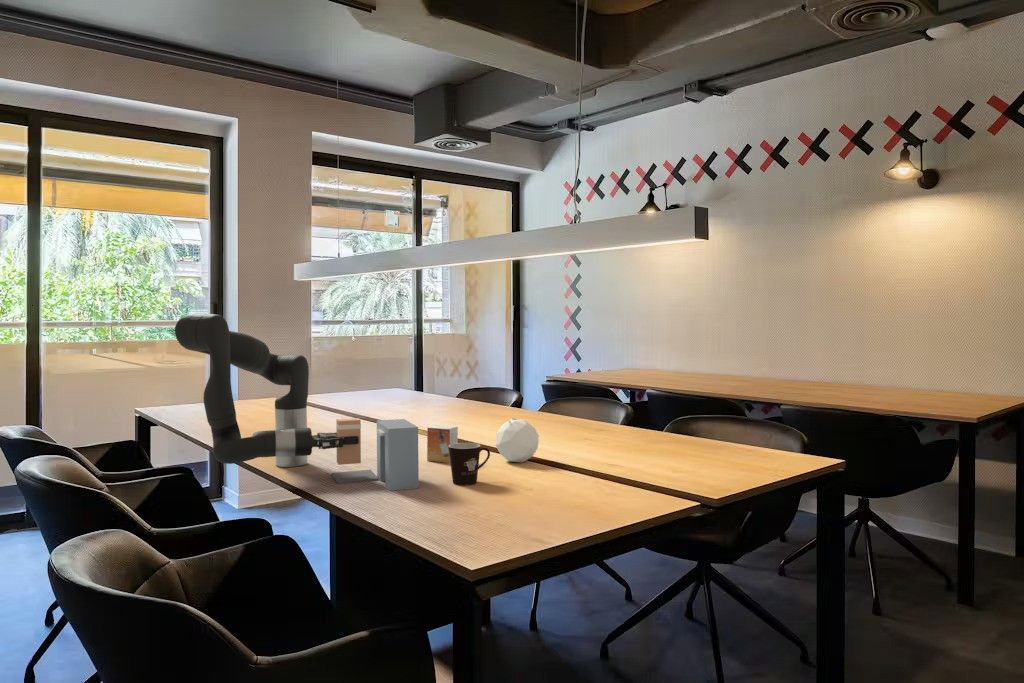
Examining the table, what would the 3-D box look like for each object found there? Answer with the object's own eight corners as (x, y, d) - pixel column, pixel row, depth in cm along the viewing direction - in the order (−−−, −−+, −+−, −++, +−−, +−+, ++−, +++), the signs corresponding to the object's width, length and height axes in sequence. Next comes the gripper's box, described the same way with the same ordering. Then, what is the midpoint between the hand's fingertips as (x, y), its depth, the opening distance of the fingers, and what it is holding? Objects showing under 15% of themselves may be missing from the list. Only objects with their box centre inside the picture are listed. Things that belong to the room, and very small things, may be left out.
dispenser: (374, 478, 201) (373, 420, 201) (404, 475, 204) (404, 418, 204) (385, 491, 186) (384, 429, 186) (418, 488, 189) (418, 427, 189)
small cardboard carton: (336, 462, 202) (336, 419, 202) (358, 460, 204) (358, 418, 204) (338, 464, 198) (338, 421, 198) (361, 463, 200) (360, 419, 200)
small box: (426, 461, 224) (426, 427, 223) (435, 458, 229) (435, 424, 229) (450, 463, 221) (449, 428, 220) (458, 459, 226) (457, 426, 226)
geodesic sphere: (527, 450, 211) (536, 409, 218) (483, 447, 215) (493, 407, 223) (539, 471, 222) (547, 432, 229) (497, 468, 227) (506, 430, 234)
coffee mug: (449, 486, 190) (449, 449, 190) (447, 479, 199) (447, 443, 199) (493, 485, 192) (493, 447, 192) (489, 477, 201) (489, 442, 200)
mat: (331, 474, 206) (331, 472, 206) (370, 471, 210) (370, 469, 210) (337, 483, 195) (337, 481, 195) (378, 480, 199) (378, 478, 199)
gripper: (295, 432, 189) (361, 428, 195) (290, 425, 202) (353, 422, 208) (295, 460, 189) (361, 456, 195) (290, 451, 202) (353, 447, 209)
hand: (356, 438), depth 202 cm, fingers closed on small cardboard carton, 4 cm apart
